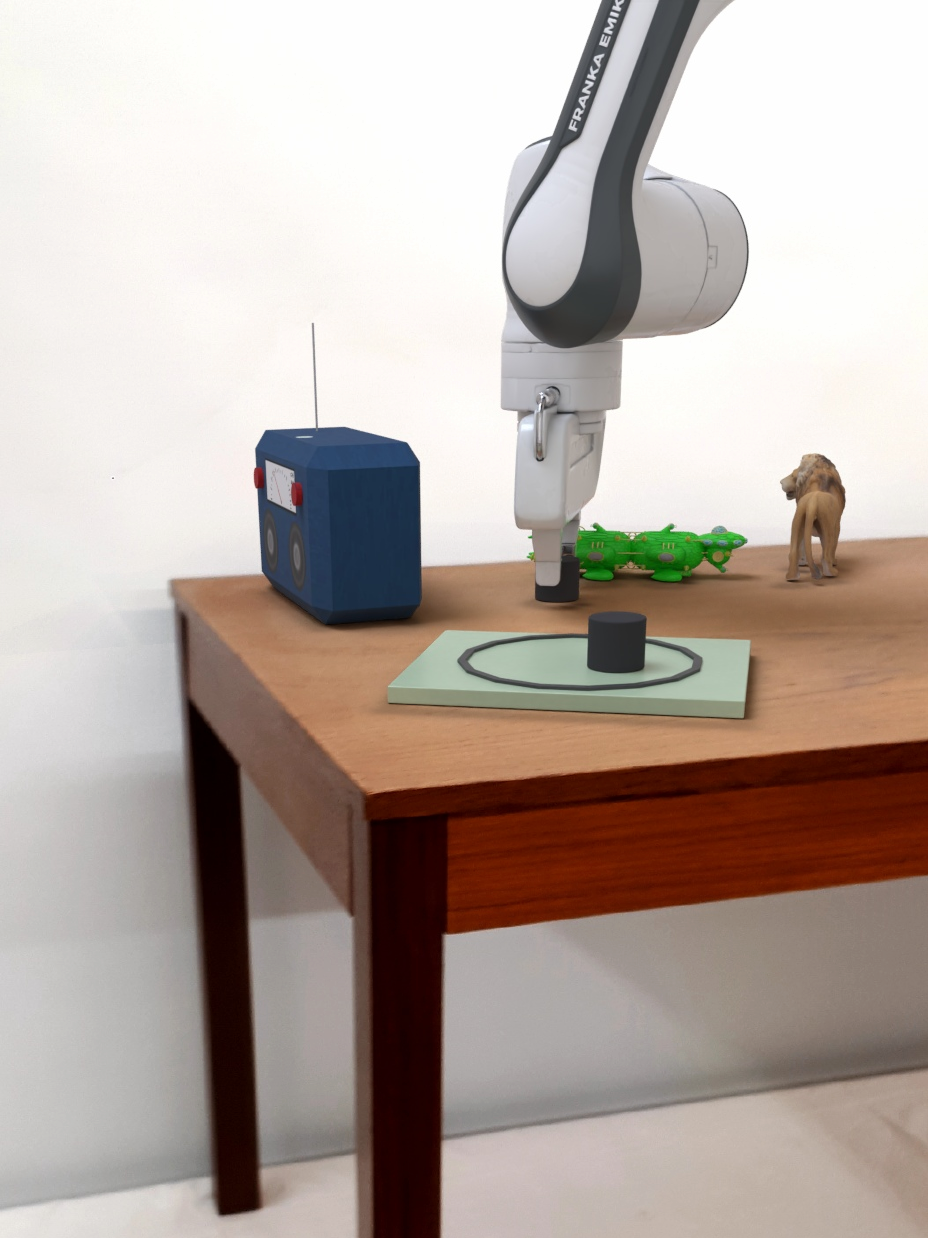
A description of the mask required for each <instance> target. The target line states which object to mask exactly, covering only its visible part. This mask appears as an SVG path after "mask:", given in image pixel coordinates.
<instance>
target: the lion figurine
mask: <svg viewBox="0 0 928 1238" xmlns="http://www.w3.org/2000/svg"><path fill="white" fill-rule="evenodd" d="M842 481H843V480H842V478H841V476H840V473H839V470H838V469H837V468H836V464H835V463H833V462H832V460H831V459H829V458H827V457H826V456H825V455H824V454H820V453H817V452H816V453H815V452H814V453H807V454H803V455H802V457H801V460H800V463H799V466H798V467H797V468H795V469H793V470H792V472H791V473H790V474H788V475H787V476H785V477H784V478H782V479H781V480H780V481H779V484H780V485H781V490H782V491H783V492H784V493H785V498H786V501H792V500H795V504H796V509H795V512H794V515H793V518H792V521H791V527H790V530H791V531H790V539H789V540H790V542H789V543H790V544H789V545H790V546H789V548H790V549H789V552H788V553H789V554H788V564H789V565H788V570H787V572H786V573H785V579H786V580H798V579H800V578H801V573H800V569H799V566H806V565H807V566H808V568H809V570H810V575H811V578H814V579H815V580H821V579H822V577H823V575H824V576H826V577H836V576H839V570H838V569H837V568H836V567H834V565H835V566H836V565H838V563H839V560H838V559H837V558H836V551H837V547H838V543H839V538H840V534H841V520H842V516H843V514H844V510H845V508H846V502H847V501H846V500H847V498H846V488H845V486H844V485H843V483H842ZM812 537H814V538H818V539H819V542H820V545H821V551H822V552H821V555H820V562H821V565H822V573H821V571H820V568H819V567H817V565H816V563H815V560H814V557H813V550H812V546H813V545H812V539H813V538H812Z"/></svg>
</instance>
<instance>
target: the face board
mask: <svg viewBox="0 0 928 1238" xmlns="http://www.w3.org/2000/svg"><path fill="white" fill-rule="evenodd" d="M751 647H752V640H751V639H735V638H734V639H732V638H702V637H701V638H699V637H675V636H674V637H673V636H672V637H670V636H646V645H645V666H644V668H643V669H642V670H639V671H636V672H630V673H605V672H598V671H594V670H591V669H589V668H588V667H587V648H588V633H576V632H575V633H573V632H572V633H569V632H568V633H551V632H549V633H548V632H521V631H519V632H518V631H517V632H516V631H486V630H457V629H456V630H453V629H446V630H444V631H443V632H442V633H441V634H440V635H438V637H437V638H436V639H435V640H434V641H433V642H432V643H431V644H430V645H429V646H428V647H427V648H426V649H425V650H423V651H422V652H421V654H419V655H418V656H417V657H416V658H415V659H414V660H413V661H412V662H411V663H410V664H409V665H408V666H407V667H406V668H405V669H404V670H403V671H402V672H401V673H399V675H398V676H397V677H396V678H395V679H393V680H392V681H391V683H389V684H388V686H387V703H388V704H403V705H423V706H426V705H427V706H449V707H469V708H470V707H472V708H473V707H474V708H495V709H499V708H500V709H514V710H515V709H517V710H519V709H520V710H539V711H540V710H541V711H563V712H564V711H565V712H587V713H608V714H609V713H610V714H630V715H633V714H634V715H653V716H654V715H655V716H656V715H657V716H678V717H679V716H680V717H698V718H699V717H700V718H721V719H724V718H727V719H744V718H745V712H746V711H745V710H746V709H745V708H746V700H747V690H748V682H749V681H748V680H749V669H750V660H751Z"/></svg>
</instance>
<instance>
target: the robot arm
mask: <svg viewBox="0 0 928 1238" xmlns="http://www.w3.org/2000/svg"><path fill="white" fill-rule="evenodd" d="M734 1H735V0H601V1H600V4H599V6H598V9H597V11H596V15H595V17H594V20H593V23H592V26H591V28H590V31H589V34H588V37H587V39H586V42H585V45H584V47H583V51H582V53H581V55H580V58H579V61H578V65H577V66H576V69H575V73H574V75H573V78H572V81H571V83H570V86H569V89H568V92H567V94H566V96H565V100H564V103H563V105H562V108H561V112H560V114H559V116H558V120H557V122H556V125H555V128H554V130H553V132H552V135H550V136H546V137H543V138H540V139H538V140H536V141H534V142H532V143H530V144H529V145H527V146H526V147H525V148H524V149H523V150H521V151H520V152H519V153H518V155H516V157H515V159H514V161H513V164H512V167H511V170H510V173H509V177H508V182H507V186H506V192H505V197H504V198H505V199H504V207H503V217H502V218H503V219H502V232H501V236H502V238H501V281H502V284H503V289H504V293H505V298H506V313H505V320H504V324H503V328H502V332H501V338H500V409H501V410H504V411H509V412H517V415H516V421H517V423H516V432H517V436H516V448H515V449H516V450H515V467H514V490H513V491H514V492H513V493H514V494H513V517H514V522H515V526H516V528H517V529H519V530H528V531H531V535H532V539H531V543H532V549H533V552H534V556H535V561H536V574H535V573H534V581H535V580H536V583H537V584H538V585H540V586H555V585H557V584H558V583H559V581H560V580H561V578H562V559H561V556H573V557H576V547H577V538H578V532H579V528H580V527H579V526H581V519H582V510H583V508H584V507H585V506H587V505H588V503H589V502H590V501H592V500H593V498H594V497H595V495H596V491H597V488H598V484H599V478H600V471H601V464H602V456H603V449H604V439H605V433H606V431H605V430H606V423H607V411H614V410H617V409H619V408H620V407H621V405H622V404H621V403H622V401H621V400H622V399H621V398H622V375H623V373H622V372H623V371H622V370H623V349H624V348H623V347H624V345H623V343H624V342H623V341H624V340H632V339H635V340H637V339H650V338H653V339H654V338H656V337H668V336H682V335H688V334H691V333H694V332H698V331H700V330H704V329H707V328H710V327H712V326H714V325H715V324H717V323H718V322H719V321H720V320H722V319H723V318H724V317H725V316H726V315H728V312H729V311H730V310H731V309H732V308H733V306H734V305H735V303H736V301H737V300H738V297H739V295H740V293H741V291H742V290H743V289H742V288H743V286H744V283H745V280H746V277H747V272H748V267H749V260H750V259H749V257H750V246H749V245H750V243H749V236H748V232H747V231H748V230H747V227H746V224H745V220H744V219H743V216H742V214H741V212H740V210H739V208H738V206H737V205H736V204H735V202H734V201H733V200H732V199H731V198H730V197H729V196H728V195H727V194H725V193H724V192H722V191H720V190H718V189H715V188H712V187H710V186H707V185H706V184H701V183H699V182H695V181H692V180H689V179H686V178H683V177H680V176H677V175H675V174H671V173H669V172H667V171H663V170H661V169H659V168H657V167H655V166H653V165H651V164H649V162H650V160H651V158H652V154H653V151H654V149H655V147H656V145H657V142H658V139H659V137H660V135H661V131H662V129H663V127H664V124H665V121H666V119H667V116H668V114H669V111H670V109H671V106H672V104H673V101H674V98H675V96H676V94H677V91H678V89H679V86H680V83H681V80H682V78H683V75H684V73H685V71H686V68H687V65H688V63H689V60H690V58H691V56H692V53H693V52H694V50H695V48H696V46H697V44H698V42H699V41H700V39H701V37H702V35H703V34H704V32H706V30H707V29H708V28H709V26H710V25H711V24H712V22H713V21H714V20H715V19H716V18H717V16H719V15H720V14H721V13H722V12H723V11H724V10H725V9H726V8H727V7H729V6H730V5H731V4H732V3H734Z"/></svg>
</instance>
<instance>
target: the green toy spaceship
mask: <svg viewBox="0 0 928 1238" xmlns="http://www.w3.org/2000/svg"><path fill="white" fill-rule="evenodd" d="M589 526H590V528H593V530H588V529H587V530H586V529H585V527H583V526H582V525H580V526H579V532H578V538H577V547H576V557H577V558H579V559H580V570H585V573H584V574H582V575H581V577H583V578H585V579H586V580H591V581H611V580H612V579H613V578H614V574H613V573H614V572H615V571H618V570H641V571H654V572H653V575H651V576H650V578H652V579H653V580H655V581H659V582H680V581H681V580H682V579H683V577H691V576H692V571H693V570H694V569H696V568H697V567H698V566H700V565H701V564H702V562H707V563H709V564H710V565H712V566H714V568H716V569H717V570H718V571H719V572H720V573H721V574H724V573H726V572H729V569H727V567H726V566H724V565H726V564H727V563H728V562H729V561H730V559H731V558H732V557H734V556H735V555H734V554H733V550H737V549H739V548H741V547H744V545H746V544H748V543H749V542H748V540H749V539H748V538H747V537H745V536H744V535H742V534H740V533H736V532H733V531H728V529H727V528H726V527H725V526H724V525H715V527H713V528H712V529H711V532H708V533H703V534H699V535H698V534H697V533H695V532H691V531H681V530H680V531H679V530H678V531H676V530H675V531H672V530H674V528H676V524H674V523H673V522H670V523H669V524H668V525H666V526H665V527H664V528H663V529H661V530H648V531H646V530H644V531H621V530H606V529H605V528H604V527H602V526H601V525H600V524H599V523H598V522H593V523H592V525H589ZM581 529H582V530H581ZM631 534H634V535H631ZM632 537H633V538H632ZM527 539H531V540H532V534H531V535H528V536H527ZM526 558H527V559H530V561H533V563H535V556H534V551H532V552H528V555H526ZM629 563H632V564H629Z"/></svg>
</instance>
